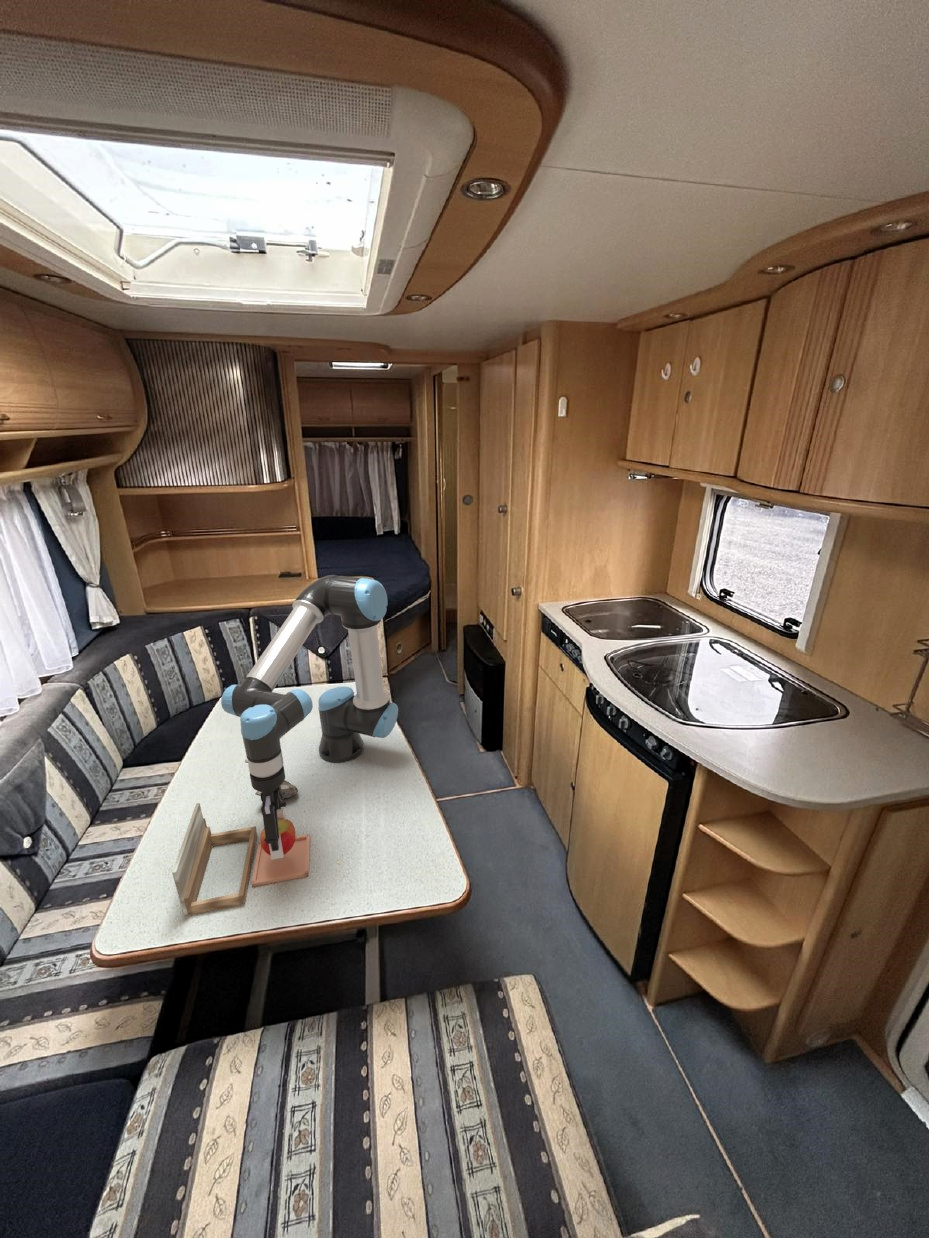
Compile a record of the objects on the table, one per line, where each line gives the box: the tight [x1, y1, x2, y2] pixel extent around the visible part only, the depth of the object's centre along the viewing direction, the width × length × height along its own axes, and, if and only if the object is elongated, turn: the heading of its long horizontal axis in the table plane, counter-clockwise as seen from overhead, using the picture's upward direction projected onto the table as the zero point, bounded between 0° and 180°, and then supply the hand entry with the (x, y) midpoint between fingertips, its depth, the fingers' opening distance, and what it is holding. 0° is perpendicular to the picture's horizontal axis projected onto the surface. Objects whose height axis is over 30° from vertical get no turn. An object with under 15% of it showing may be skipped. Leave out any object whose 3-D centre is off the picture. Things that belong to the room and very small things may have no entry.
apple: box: [259, 818, 297, 855], centre depth 126 cm, size 8×8×10 cm
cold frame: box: [171, 802, 258, 916], centre depth 124 cm, size 13×23×14 cm, turn 14°
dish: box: [251, 833, 311, 888], centre depth 129 cm, size 13×13×2 cm
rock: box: [255, 779, 299, 799], centre depth 150 cm, size 11×6×10 cm
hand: (279, 843), depth 127 cm, fingers closed on apple, 8 cm apart
